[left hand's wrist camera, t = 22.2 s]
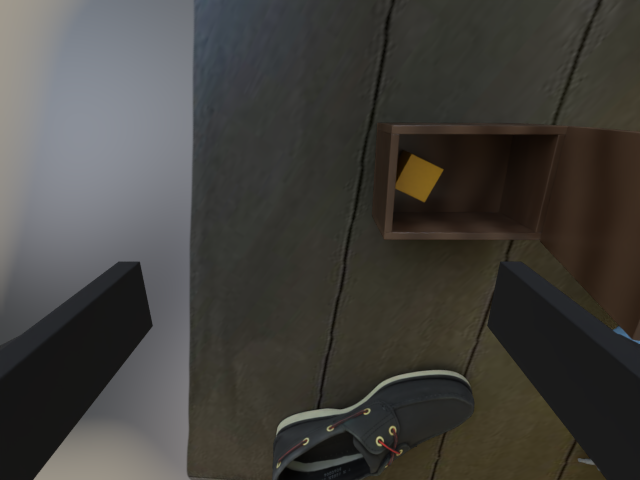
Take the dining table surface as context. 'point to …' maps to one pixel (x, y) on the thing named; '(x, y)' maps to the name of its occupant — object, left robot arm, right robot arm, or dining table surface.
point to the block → (416, 176)
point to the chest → (468, 180)
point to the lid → (599, 219)
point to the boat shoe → (371, 428)
